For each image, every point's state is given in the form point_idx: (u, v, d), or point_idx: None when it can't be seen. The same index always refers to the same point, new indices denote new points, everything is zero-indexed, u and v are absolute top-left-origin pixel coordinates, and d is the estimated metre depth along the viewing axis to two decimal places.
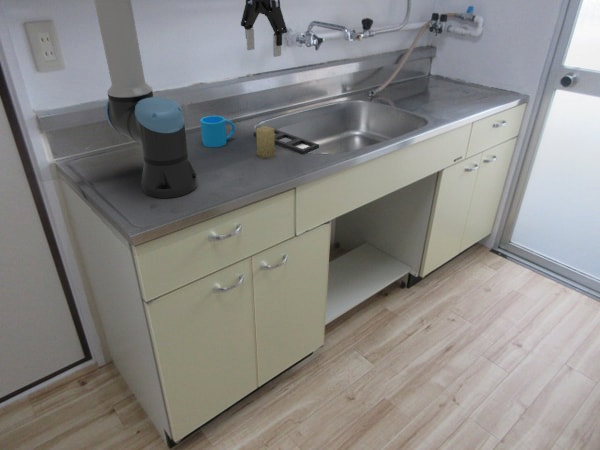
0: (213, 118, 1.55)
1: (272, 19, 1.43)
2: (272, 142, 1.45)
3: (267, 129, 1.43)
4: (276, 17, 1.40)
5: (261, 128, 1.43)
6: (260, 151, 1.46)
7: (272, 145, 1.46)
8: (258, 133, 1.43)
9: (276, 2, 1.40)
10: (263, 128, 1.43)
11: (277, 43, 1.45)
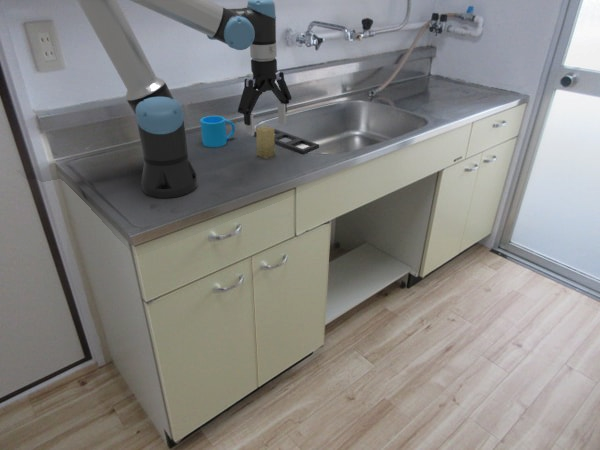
0: (213, 118, 1.55)
1: (250, 97, 1.35)
2: (272, 142, 1.45)
3: (267, 129, 1.43)
4: None
5: (261, 128, 1.43)
6: (260, 151, 1.46)
7: (272, 145, 1.46)
8: (258, 133, 1.43)
9: (247, 82, 1.31)
10: (263, 128, 1.43)
11: None
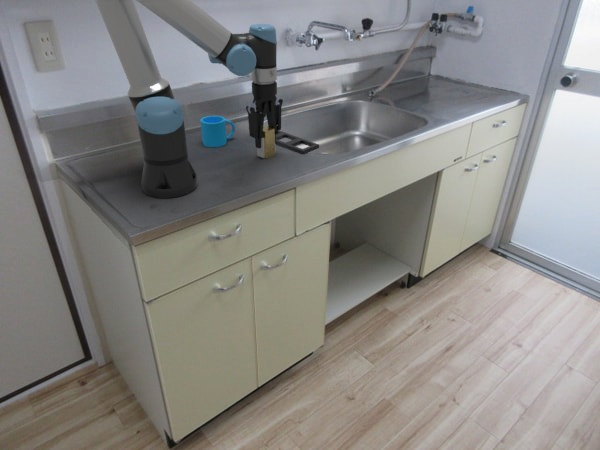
0: (213, 118, 1.55)
1: (256, 121, 1.40)
2: (272, 142, 1.45)
3: (268, 129, 1.43)
4: None
5: None
6: None
7: (272, 145, 1.46)
8: None
9: (249, 110, 1.35)
10: (263, 128, 1.43)
11: None
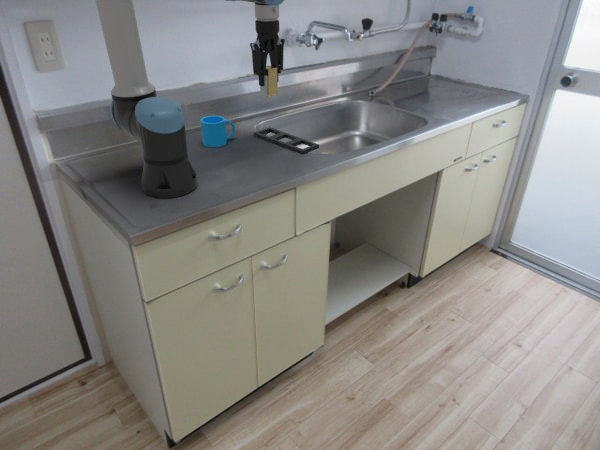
0: (213, 118, 1.55)
1: (260, 59, 1.48)
2: (275, 81, 1.52)
3: (271, 68, 1.50)
4: None
5: None
6: None
7: (275, 84, 1.53)
8: None
9: (252, 47, 1.43)
10: (266, 67, 1.51)
11: None
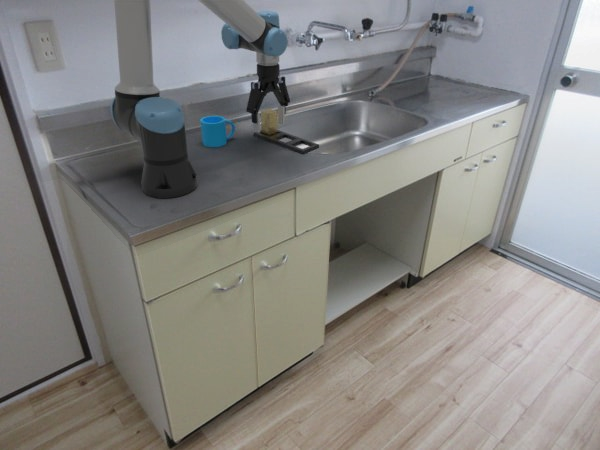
0: (213, 118, 1.55)
1: (256, 98, 1.53)
2: (275, 123, 1.60)
3: (271, 111, 1.58)
4: None
5: (265, 111, 1.58)
6: (264, 132, 1.61)
7: (275, 126, 1.61)
8: (263, 115, 1.58)
9: (253, 85, 1.49)
10: (267, 111, 1.58)
11: None
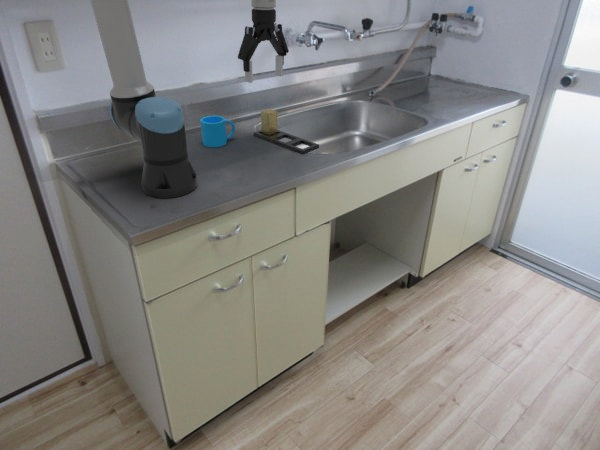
0: (213, 118, 1.55)
1: (249, 45, 1.43)
2: (275, 123, 1.60)
3: (271, 111, 1.58)
4: None
5: (265, 111, 1.58)
6: (264, 132, 1.61)
7: (275, 126, 1.61)
8: (263, 115, 1.58)
9: (247, 29, 1.39)
10: (267, 111, 1.58)
11: None
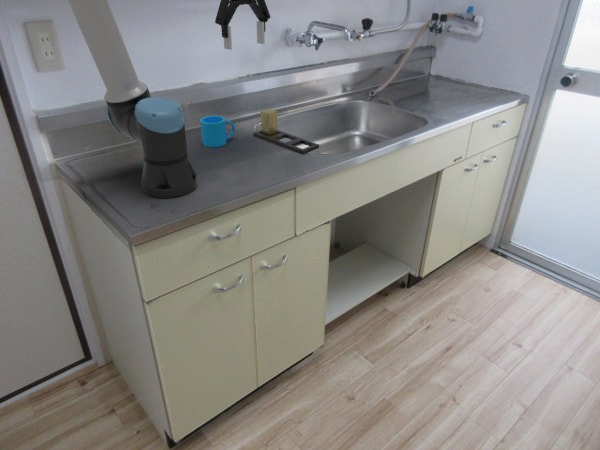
0: (213, 118, 1.55)
1: (227, 9, 1.36)
2: (275, 123, 1.60)
3: (271, 111, 1.58)
4: None
5: (265, 111, 1.58)
6: (264, 132, 1.61)
7: (275, 126, 1.61)
8: (263, 115, 1.58)
9: None
10: (267, 111, 1.58)
11: None
